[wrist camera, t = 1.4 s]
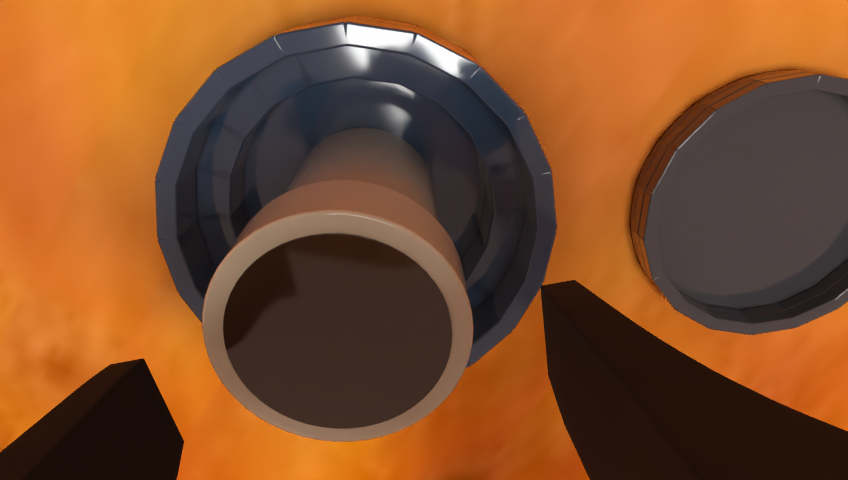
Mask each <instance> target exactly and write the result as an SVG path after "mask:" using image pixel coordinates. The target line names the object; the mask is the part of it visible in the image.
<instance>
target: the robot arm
mask: <svg viewBox="0 0 848 480" xmlns="http://www.w3.org/2000/svg"><path fill="white" fill-rule="evenodd" d="M541 297H542V308H543V320H544V331H545V342H546V354H547V365H548V376H549V379H550V382H551V385H552V388H553V391H554V394H555V398H556V401H557V404H558V407H559V410H560V413H561V415H562V418H563V421H564V424H565V427H566V429H567V431H568V433H569V435H570V438H571V440H572V442H573V444H574V446H575V448H576V450H577V453H578V455H579V457H580V459H581V461H582V463H583V466H584V468H585V470H586V472H587V474H588V476H589V478H590V480H848V431H845V430H843V429H840V428H838V427H835V426H833V425H830V424H828V423H825V422H823V421H820V420H818V419H815V418H813V417H810V416H808V415H805V414H803V413H801V412H798V411H796V410H794V409H791V408H789V407H787V406H785V405H782V404H780V403H778V402H776V401H773V400H771V399H769V398H767V397H765V396H763V395H761V394H759V393H757V392H755V391H753V390H751V389H749V388H747V387H744V386H742V385H740V384H738V383H736V382H734V381H732V380H730V379H728V378H726V377H724V376H723V375H721V374H719V373H717V372H715V371H713V370H711V369H709V368H708V367H706V366H704V365H703V364H701V363H699V362H697V361H696V360H694V359H692V358H690V357H689V356H687V355H685V354H683V353H682V352H680V351H678V350H677V349H675V348H673V347H672V346H670V345H668V344H667V343H665V342H664V341H662V340H660V339H659V338H657V337H656V336H654V335H653V334H651V333H650V332H648V331H646V330H645V329H643V328H642V327H640V326H639V325H637V324H636V323H634V322H633V321H631V320H630V319H629V318H627V317H626V316H624V315H623V314H621V313H620V312H619V311H617V310H616V309H614V308H613V307H612V306H610V305H609V304H607V303H606V302H605V301H603V300H602V299H600V298H599V297H598V296H596V295H595V294H594V293H592V292H591V291H589V290H588V289H587V288H585V287H584V286H582V285H581V284H580V283H578V282H577V281H575V280H571V281H566V282H560V283H555V284H549V285H544V286H541ZM183 444H184V441H183V438H182V436H181V434H180V432H179V430H178V428H177V426H176V424H175V422H174V420H173V418H172V416H171V414H170V412H169V410H168V408H167V405H166V403H165V401H164V399H163V397H162V395H161V393H160V391H159V389H158V387H157V385H156V383H155V381H154V379H153V377H152V375H151V372H150V370H149V368H148V366H147V364H146V362H145V360H144V359H138V360H133V361H127V362H122V363H116V364H111V365H109V366H108V367H106V368H105V369H103V370H102V371H100V372H99V373H98V374H96V375H95V376H93V377H92V378H91V379H90V380H88V381H87V382H86V383H84V384H83V385H82V386H81V387H79V388H78V389H77V390H76V391H74V392H73V393H72V394H71V395H69V396H68V397H67V398H66V399H64V400H63V401H62V402H61V403H60V404H58V405H57V406H56V407H55V408H54V409H52V410H51V411H50V412H49V413H48V414H46V415H45V416H44V417H43V418H41V419H40V420H39V421H38V422H37V423H35V424H34V425H33V426H32V427H31V428H29V429H28V430H27V431H26V432H24V433H23V434H22V435H21V436H20V437H18V438H17V439H16V440H15V441H14V442H12V443H11V444H10V445H9V446H8V447H6V448H5V449H4V450H3V451H1V452H0V480H176V479H177V475H178V470H179V465H180V460H181V454H182V449H183Z"/></svg>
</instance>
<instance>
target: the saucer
mask: <svg viewBox="0 0 848 480" xmlns="http://www.w3.org/2000/svg"><path fill="white" fill-rule="evenodd" d="M631 232H632V240H633V244H634V248H635V252H636V254H637V257H638V259H639V261H640V264H641V266H642V268H643V270H644V271H645V272H646V274H647V275H648V277H649V278H650V279H651V281H652V282H653V283H654V284H655V286H656V287H657V288H658V290H659V291H660V292H661V293H662V295H663V296H664V297H665V298H666V300H667V301H668V302H669V303H670V304H671V306H672V307H673V308H674V309H675V310H676V311H678V312H680V313H682V314H683V315H685V316H687V317H689V318H691V319H692V320H694V321H696V322H698V323H700V324H701V325H703V326H705V327H707V328H710V329H713V330H720V331H727V332H734V333H741V334H748V335H755V334H761V333H767V332H773V331H780V330H786V329H792V328H795V327H799V326H801V325H803V324H805V323H808V322H810V321H812V320H814V319H817V318H819V317H821V316H823V315H825V314H828V313H830V312H832V311H834V310H837V309H838V308H839V307H841V306H842V305H844V304H845V303H846V302H847V301H848V79H847V78H842V77H837V76H832V75H827V74H822V73H816V72H811V71H806V70H782V71H773V72H765V73H761V74H757V75H753V76H749V77H746V78H743V79H741V80H738V81H735V82H733V83H730V84H728V85H726V86H724V87H722V88H720V89H718V90H716V91H714V92H713V93H711V94H709V95H708V96H706V97H705V98H703V99H702V100H700V101H699V102H697V103H696V104H695V105H693V106H692V107H691V108H690V109H689V110H687V111H686V112H685V113H684V114H683V115H681V116H680V117H679V118H678V119H677V120H676V122H675V123H674V124H673V125H672V126H671V127H670V128H669V129H668V130H667V131H666V132H665V134H664V135H663V136H662V138H661V139H660V140H659V141H658V143H657V144H656V145H655V147H654V149H653V150H652V152H651V154H650V155H649V157H648V159H647V160H646V163H645V165H644V167H643V169H642V171H641V174H640V176H639V179H638V182H637V185H636V188H635V191H634V196H633V202H632V207H631Z"/></svg>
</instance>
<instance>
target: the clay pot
mask: <svg viewBox="0 0 848 480" xmlns="http://www.w3.org/2000/svg"><path fill="white" fill-rule="evenodd" d="M202 329H203V336H204V342H205V346H206V350H207V353H208V356H209V359H210V361H211V363H212V366H213V368H214V370H215V372H216V374H217V375H218V377H219V378H220V380H221V381H222V383H223V384H224V386H225V387H226V388H227V389H228V391H229V392H230V393H231V394H232V395H233V396H234V398H235V399H237V400H238V401H239V402H240V403H241V404H242V405H243V406H244V407H245V408H246V409H248V410H249V411H251V412H252V413H253V414H255V415H256V416H257V417H259V418H261V419H262V420H264V421H266V422H268V423H269V424H271V425H273V426H275V427H278V428H280V429H282V430H285V431H287V432H290V433H293V434H296V435H299V436H303V437H307V438H312V439H317V440H325V441H360V440H368V439H373V438H378V437H383V436H386V435H389V434H392V433H395V432H398V431H400V430H402V429H404V428H407V427H409V426H411V425H413V424H414V423H416V422H418V421H419V420H421V419H423V418H424V417H426V416H427V415H428V414H430V413H431V412H432V411H433V410H435V409H436V408H437V407H438V406H439V405H440V404H441V403H442V402H443V401H444V400H445V399H446V398H447V397H448V396H449V394H450V393H451V392H452V390H453V389H454V388H455V386H456V385H457V383H458V381H459V380H460V378H461V376H462V374H463V373H464V370H465V368H466V365H467V363H468V360H469V357H470V352H471V348H472V343H473V317H472V310H471V305H470V300H469V296H468V291H467V286H466V281H465V276H464V272H463V267H462V263H461V259H460V257H459V254H458V252H457V249H456V247H455V245H454V243H453V242H452V240H451V238H450V236H449V235H448V233H447V232H446V231H445V229H444V228H443V227H442V225H441V224H440V223H439V217H438V210H437V203H436V196H435V189H434V183H433V179H432V176H431V173H430V170H429V168H428V166H427V164H426V163H425V161H424V159H423V158H422V157H421V155H420V154H419V153H418V152H417V151H416V150H415V149H414V148H413V147H412V146H411V145H410V144H409V143H407V142H406V141H405V140H403V139H402V138H400V137H398V136H396V135H394V134H392V133H389V132H387V131H383V130H380V129H374V128H352V129H347V130H343V131H340V132H337V133H335V134H332V135H331V136H329V137H327V138H325V139H324V140H323V141H321V142H320V143H319V144H317V145H316V146H315V147H314V148H313V149H312V150H311V151H310V153H309V154H308V155H307V157H306V158H305V160H304V162H303V163H302V165H301V167H300V168H299V170H298V172H297V174H296V175H295V177H294V179H293V180H292V182H291V184H290V186H289V187H288V189H287V191H286V192H285V193H284V194H283V195H281V196H279V197H277V198H275V199H274V200H272V201H271V202H270V203H268V204H267V205H266V206H264V207H263V208H262V209H260V210H259V211H258V212H257V213H256V214H255V215H254V216H253V217H252V218H251V219H250V221H249V222H248V223H247V225H246V226H245V228H244V229H243V230H242V232H241V233H240V235H239V236H238V238H237V239H236V241H235V242H234V244H233V245H232V247H231V248H230V249H229V251H228V252H227V254H226V255H225V257H224V258H223V260H222V261H221V263H220V264H219V266H218V267H217V269H216V271H215V273H214V275H213V277H212V279H211V281H210V283H209V286H208V289H207V292H206V295H205V300H204V306H203V311H202Z"/></svg>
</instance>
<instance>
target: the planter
mask: <svg viewBox="0 0 848 480" xmlns="http://www.w3.org/2000/svg"><path fill="white" fill-rule="evenodd" d="M352 128H374V129H380V130H383V131H387V132H389V133H392V134H394V135H396V136H398V137H400V138H402V139H403V140H405V141H406V142H407V143H409V144H410V145H411V146H412V147H413V148H414V149H415V150H416V151H417V152H418V153H419V154H420V155H421V157H422V158H423V159H424V161H425V163H426V164H427V166H428V168H429V170H430V173H431V176H432V179H433V183H434V189H435V196H436V203H437V210H438V217H439V223H440V224H441V225H442V227H443V228H444V229H445V231H446V232H447V233H448V235H449V236H450V238H451V240H452V242H453V243H454V245H455V247H456V249H457V252H458V254H459V257H460V259H461V263H462V267H463V272H464V276H465V281H466V286H467V291H468V296H469V300H470V305H471V310H472V317H473V343H472V348H471V352H470V357H469V360H468V363H467V365H466V368H467V367H469V366H471V365H472V364H474V363H475V362H477V361H478V360H479V359H480V358H481V357H482V356H484V355H485V354H486V353H487V352H488V351H490V350H491V349H492V348H493V347H494V346H495V345H497V344H498V343H499V342H500V341H501V340H503V339H504V338H505V337H506V336H507V335H508V334H510V333H511V332H512V331H513V329H515V327H516V325H517V324H518V322H519V321H520V319H521V318H522V316H523V314H524V313H525V311H526V310H527V308H528V307H529V305H530V303H531V302H532V300H533V299H534V297H535V296H536V294H537V292H538V291H539V289H540V288H541V286H542V283H543V282H544V279H545V275H546V271H547V267H548V263H549V259H550V255H551V251H552V247H553V243H554V239H555V235H556V229H557V223H556V211H555V200H554V189H553V177H552V171H551V167H550V165H549V163H548V161H547V158H546V156H545V154H544V152H543V150H542V147H541V145H540V143H539V141H538V139H537V136H536V134H535V132H534V130H533V128H532V125H531V123H530V121H529V119H528V117H527V115H526V114H525V112H524V110H523V109H522V108H521V107H520V106H519V105H518V104H517V103H516V102H515V101H514V100H513V99H512V98H511V97H510V96H509V95H508V94H507V93H506V92H505V91H504V90H503V88H502V87H501V86H500V85H499V84H498V83H497V82H496V81H495V80H494V79H493V78H492V77H491V76H490V75H489V74H488V73H487V72H486V71H485V70H484V69H483V68H482V66H481V65H480V64H479V63H478V62H477V61H476V60H475V59H474V58H473V57H472V56H471V55H470V54H469V53H467V52H466V51H465V50H463V49H461V48H459V47H457V46H456V45H454V44H452V43H450V42H448V41H446V40H444V39H442V38H440V37H438V36H436V35H434V34H432V33H431V32H429V31H427V30H425V29H423V28H421V27H419V26H417V25H415V26H414V25H413V24H410V23H403V22H397V21H390V20H383V19H377V18H370V17H364V16H349V17H343V18H338V19H333V20H327V21H322V22H317V23H311V24H306V25H301V26H298V27H295V28H292V29H289V30H286V31H283V32H280V33H278V34H275V35H272V36H271V37H269V38H267V39H266V40H264V41H262V42H260V43H259V44H257V45H255V46H254V47H252V48H250V49H249V50H247V51H245V52H243V53H242V54H240V55H238V56H237V57H235V58H233V59H231V60H230V61H228V62H226V63H225V64H223V65H221V66H220V67H218V68H217V69H216V70H214V71H213V72H212V74H211V75H210V76H209V77H208V79H207V80H206V81H205V82H204V84H203V85H202V86H201V87H200V89H199V90H198V91H197V92H196V93H195V95H194V96H193V97H192V98H191V100H190V101H189V102H188V103H187V105H186V106H185V107H184V108H183V110H182V111H181V112H180V113H179V114H178V116H177V117H176V118H175V121H174V122H173V125H172V128H171V131H170V134H169V137H168V140H167V143H166V146H165V149H164V152H163V155H162V159H161V162H160V165H159V168H158V171H157V174H156V180H155V192H156V218H157V238H158V242H159V245H160V248H161V250H162V253H163V255H164V258H165V260H166V263H167V266H168V268H169V271H170V273H171V276H172V278H173V281H174V284H175V286H176V289H177V291H178V293H179V294H180V296H181V297H182V299H183V300H184V301H185V302H186V304H187V305H188V306H189V307H190V309H191V310H192V311H193V312H194V314H195V315H196V316H197V317H198V319H199V320H200V321H201V322H202V311H203V306H204V300H205V295H206V292H207V289H208V286H209V283H210V281H211V279H212V277H213V275H214V273H215V271H216V269H217V267H218V266H219V264H220V263H221V261H222V260H223V258H224V257H225V255H226V254H227V252H228V251H229V249H230V248H231V247H232V245H233V244H234V242H235V241H236V239H237V238H238V236H239V235H240V233H241V232H242V230H243V229H244V228H245V226H246V225H247V223H248V222H249V221H250V219H251V218H252V217H253V216H254V215H255V214H256V213H257V212H258V211H259V210H260V209H262V208H263V207H264V206H266V205H267V204H268V203H270V202H271V201H272V200H274V199H275V198H277V197H279V196H281V195H283V194H284V193H285V192H286V191H287V189H288V187H289V186H290V184H291V182H292V180H293V179H294V177H295V175H296V174H297V172H298V170H299V168H300V167H301V165H302V163H303V162H304V160H305V158H306V157H307V155H308V154H309V153H310V151H311V150H312V149H313V148H314V147H315V146H316V145H317V144H319V143H320V142H321V141H323V140H324V139H325V138H327V137H329V136H331V135H332V134H335V133H337V132H340V131H343V130H347V129H352Z"/></svg>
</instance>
